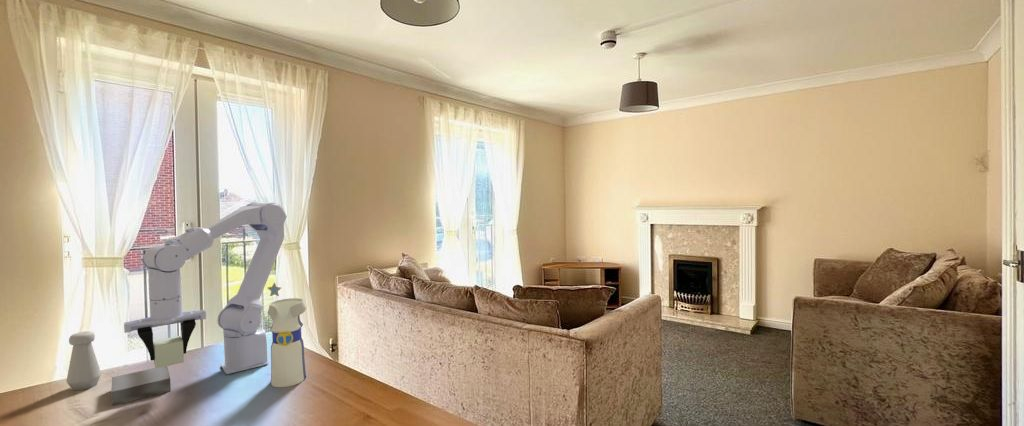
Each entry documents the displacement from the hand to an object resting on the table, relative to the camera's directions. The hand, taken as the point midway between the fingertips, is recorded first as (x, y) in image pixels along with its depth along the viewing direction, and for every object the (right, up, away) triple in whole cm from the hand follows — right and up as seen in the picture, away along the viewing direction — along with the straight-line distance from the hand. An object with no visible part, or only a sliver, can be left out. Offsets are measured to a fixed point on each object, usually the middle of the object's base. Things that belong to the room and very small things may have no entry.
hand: (168, 355), depth 99 cm
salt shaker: (-23, -9, +3) cm, 25 cm away
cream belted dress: (+25, -8, +6) cm, 27 cm away
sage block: (0, -2, 0) cm, 2 cm away
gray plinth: (-7, -8, +1) cm, 11 cm away
